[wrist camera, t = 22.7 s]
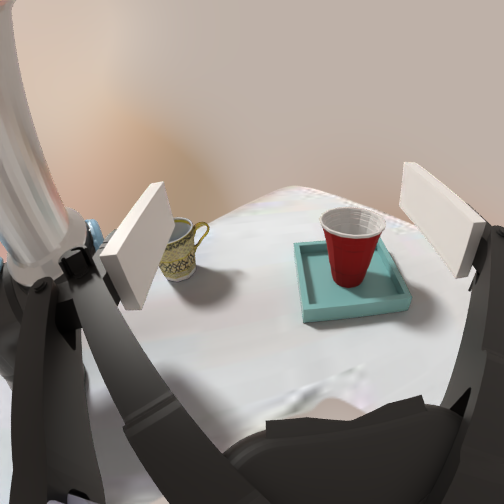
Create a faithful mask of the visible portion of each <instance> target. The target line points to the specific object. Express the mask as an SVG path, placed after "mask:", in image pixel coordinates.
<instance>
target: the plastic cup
mask: <svg viewBox="0 0 504 504" xmlns="http://www.w3.org/2000/svg"><path fill="white" fill-rule="evenodd" d="M319 221H320V224H321V226H322V228H323V230H324V234H325V238H326V244H327V250H328V257H329V263H330V267H331V274H332V278H333V281H334V282H335V283H336V284H337V285H339V286H341V287H345V288H353V287H356V286H359V285H360V284H361V283H362V282H363V280H364V278H365V275H366V272H367V269H368V268H369V265H370V262H371V259H372V257H373V254H374V251H375V248H376V245H377V243H378V240H379V238H380V235H381V233H382V231H383V230H384V229H385V226H386V221H385V220H384V219H383V217H382V216H381V215H379V214H377V213H375V212H373V211H370V210H367V209H363V208H356V207H339V208H334V209H330V210H328V211H326V212H324V213H322V214H321V216H320V218H319Z"/></svg>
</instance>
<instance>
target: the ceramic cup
mask: <svg viewBox="0 0 504 504" xmlns="http://www.w3.org/2000/svg"><path fill="white" fill-rule="evenodd" d="M173 219H174V223H175V227H174V230H173V232H172V234H171V237H170V239H169V241H168V244H167V246H166V249H165V251H164V253H163V256H162V258H161V261H160V263H159V268H160V269H161V271H162V272H163V274H164V276H165V277H166V279H167V280H171V281H175V282H179V281H182V280H185V279H188V278H190V277H191V275H192V274H193V273H194V272H195V270H196V263H195V252H196V249H197V247H198V246H199V245H200V243H201V241H202V240H203V239H204V237H205V236H206V235H207V234H208V232H209V225H208V224H207V223H205V222H199V223H197V224H195V225H194V227H193V223H192V222H191V220H189V219H186V218H181V217H176V218H173ZM203 225H206V226H207V231H206V233H205V234H204V235H203V236H202V237H201V239H200V240H199V242H198V243H197V244H196V245H194V236H195V233H196V230H197V229H198V228H199V227H200V226H203Z"/></svg>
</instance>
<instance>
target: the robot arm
mask: <svg viewBox="0 0 504 504" xmlns="http://www.w3.org/2000/svg"><path fill="white" fill-rule="evenodd" d="M15 1H16V0H0V241H1V243H2V244H3V245H4V247H5V248H6V250H7V251H8V253H7V262H6V263H3V259H2V258H1V257H0V374H1V375H2V376H3V377H4V379H5V380H6V381H7V383H8V385H9V386H10V388H11V390H12V406H11V445H12V461H13V475H12V482H11V490H10V500H9V504H106V503H105V496H104V489H103V484H102V480H101V475H100V471H99V467H98V463H97V459H96V454H95V450H94V445H93V440H92V434H91V429H90V423H89V417H88V410H87V402H86V394H85V385H84V381H85V369H84V365H83V362H82V344H81V328H83V331H84V334H85V336H86V339H87V342H88V344H89V347H90V349H91V352H92V354H93V357H94V359H95V362H96V364H97V366H98V369H99V371H100V373H101V375H102V378H103V380H104V382H105V384H106V386H107V388H108V391H109V393H110V395H111V397H112V399H113V401H114V403H115V405H116V407H117V409H118V411H119V413H120V414H121V416H122V418H123V420H124V422H125V426H123V431H124V433H125V435H126V437H127V439H128V441H129V443H130V445H131V446H132V448H133V450H134V451H135V453H136V455H137V456H138V458H139V460H140V461H141V463H142V464H143V466H144V468H145V469H146V471H147V472H148V474H149V475H150V477H151V478H152V480H153V481H154V483H155V484H156V486H157V487H158V488H159V490H160V491H161V493H162V494H163V495H164V497H165V498H166V499H167V501H168V502H169V504H504V227H501V226H491V225H490V224H489V223H488V222H487V221H486V220H485V219H484V218H483V217H482V216H480V215H479V213H477V212H476V211H475V210H474V209H473V208H472V207H471V206H470V205H469V204H467V203H466V202H464V201H463V200H462V199H461V198H460V197H458V196H457V195H456V194H455V193H454V192H453V191H451V190H450V189H449V188H448V187H447V186H445V185H444V184H443V183H442V182H440V181H439V180H438V179H437V178H435V177H434V176H433V175H432V174H430V173H429V172H428V171H426V170H425V169H424V168H422V167H421V166H420V165H418V164H417V163H416V162H404V168H403V178H402V187H401V196H400V203H399V206H400V208H401V209H402V210H403V211H404V212H405V213H406V215H407V216H408V217H409V218H410V219H411V221H412V222H413V223H414V224H415V225H416V227H417V228H418V229H419V230H420V232H421V233H422V234H423V235H424V237H425V238H426V239H427V241H428V242H429V243H430V244H431V246H432V247H433V248H434V250H435V251H436V252H437V254H438V255H439V256H440V258H441V259H442V260H443V262H444V263H445V265H446V266H447V267H448V269H449V270H450V272H451V273H452V274H453V276H454V277H455V279H457V278H463V277H468V275H469V272H470V270H471V267H472V265H473V266H474V268H475V269H476V270H477V271H476V273H475V276H474V278H473V281H472V283H471V285H470V288H469V290H468V291H471V289H472V292H471V298H470V304H469V309H468V314H467V319H466V324H465V328H464V332H463V337H462V341H461V344H460V348H459V352H458V356H457V359H456V363H455V366H454V369H453V372H452V376H451V379H450V382H449V385H448V388H447V390H446V393H445V396H444V398H443V401H442V403H441V404H440V406H436V405H429V404H424V401H423V398H422V395H419V396H415V397H412V398H408V399H404V400H400V401H396V402H392V403H388V404H386V405H384V406H382V407H380V408H378V409H376V410H374V411H372V412H370V413H368V414H365V415H363V416H361V417H359V418H357V419H354V420H351V421H342V420H328V419H318V418H309V417H306V418H296V419H284V420H270V421H266V430H264V431H261V432H257V433H255V434H252V435H250V436H248V437H246V438H244V439H242V440H240V441H239V442H237V443H236V444H234V445H233V446H231V447H230V448H229V449H228V450H227V451H225V452H224V453H223V454H222V453H221V452H220V451H219V450H218V449H217V448H216V447H215V445H214V444H213V443H212V442H211V441H210V440H209V438H208V437H207V436H206V435H205V434H204V433H203V431H202V430H201V429H200V428H199V426H198V425H197V424H196V423H195V422H194V420H193V419H192V418H191V416H190V415H189V414H188V413H187V411H186V410H185V409H184V407H183V406H182V405H181V404H180V402H179V401H178V400H177V398H176V397H175V396H174V394H173V393H172V392H171V390H170V389H169V388H168V386H167V385H166V383H165V382H164V381H163V379H162V378H161V376H160V375H159V373H158V372H157V370H156V369H155V367H154V366H153V364H152V363H151V361H150V360H149V358H148V357H147V355H146V354H145V352H144V351H143V349H142V348H141V346H140V344H139V343H138V341H137V340H136V338H135V336H134V335H133V333H132V331H131V330H130V328H129V326H128V325H127V323H126V321H125V319H124V318H123V316H122V314H121V313H120V311H119V309H118V307H117V306H118V304H119V302H120V300H121V302H122V304H123V306H124V308H125V310H142V308H143V305H144V303H145V300H146V297H147V294H148V292H149V289H150V286H151V284H152V281H153V279H154V276H155V273H156V271H157V268H158V266H159V263H160V261H161V258H162V256H163V253H164V251H165V249H166V246H167V244H168V241H169V239H170V237H171V234H172V232H173V230H174V227H175V223H174V219H173V216H172V212H171V208H170V204H169V201H168V197H167V193H166V189H165V185H164V182H157V183H152V184H150V185H149V187H148V188H147V189H146V190H145V192H144V193H143V194H142V196H141V197H140V199H139V200H138V201H137V202H136V204H135V205H134V207H133V208H132V209H131V210H130V212H129V213H128V215H127V216H126V217H125V219H124V220H123V222H122V223H121V224H120V226H119V227H118V229H115V230H114V231H112V232H111V233H110V234H109V235H107V237H106V238H105V240H104V238H103V235H102V233H101V230H100V227H99V225H98V223H97V221H96V220H94V219H91V220H85V221H84V219H83V217H82V216H81V215H80V213H79V212H77V211H76V210H74V209H72V208H69V207H64V204H63V202H62V200H61V198H60V195H59V193H58V190H57V188H56V186H55V184H54V181H53V178H52V176H51V173H50V171H49V168H48V165H47V163H46V160H45V157H44V154H43V151H42V149H41V146H40V143H39V140H38V137H37V134H36V130H35V127H34V124H33V121H32V117H31V114H30V110H29V107H28V103H27V99H26V95H25V91H24V87H23V83H22V78H21V74H20V69H19V63H18V58H17V52H16V46H15V39H14V32H13V23H12V13H11V10H12V7H13V4H14V3H15Z"/></svg>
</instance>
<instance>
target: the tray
mask: <svg viewBox="0 0 504 504" xmlns="http://www.w3.org/2000/svg"><path fill="white" fill-rule="evenodd" d="M294 258H295V264H296V272H297V279H298V286H299V294H300V301H301V309H302V317H303V323H306V322H317V321H328V320H337V319H346V318H355V317H363V316H371V315H379V314H386V313H393V312H400V311H406V310H408V308H409V305H410V302H411V299H412V296H411V294H410V292H409V290H408V288H407V286H406V284H405V282H404V280H403V278H402V276H401V274H400V272H399V271H398V269H397V267H396V265H395V263H394V261H393V259H392V258H391V256H390V254H389V252H388V250H387V249H386V247H385V245H384V243H383V242H382V240H381V238H379V240H378V243H377V245H376V248H375V251H374V254H373V257H372V259H371V262H370V265H369V268H368V269H367V272H366V275H365V278H364V280H363V282H362V283H361V284H360V285H359V286H356V287H353V288H345V287H341V286H339V285H337V284H336V283H335V282H334V281H333V278H332V274H331V267H330V263H329V257H328V250H327V244H326V241H314V242H301V243H294Z"/></svg>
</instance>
